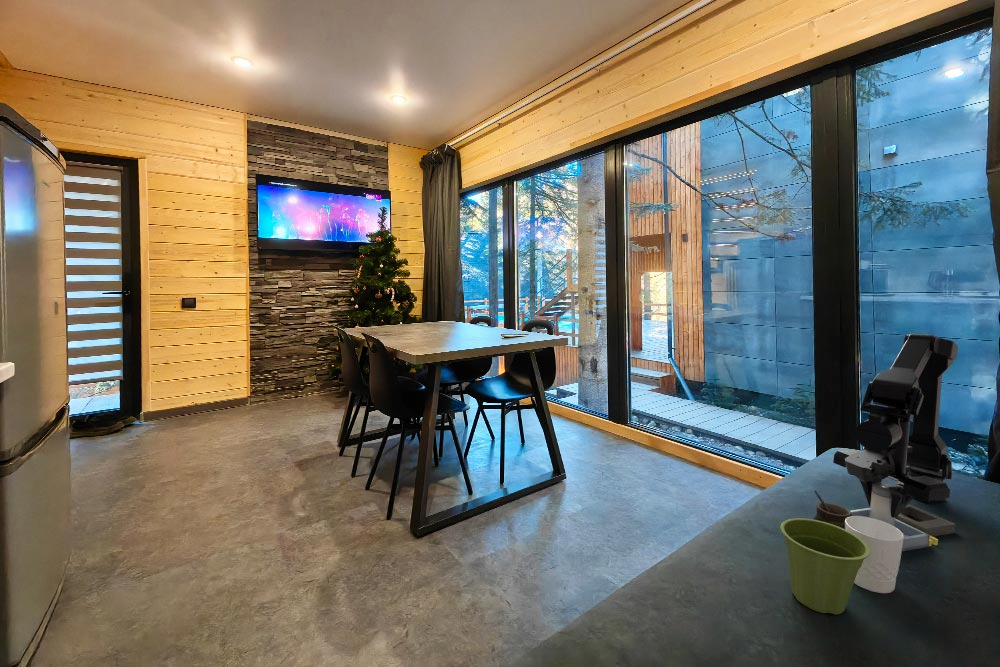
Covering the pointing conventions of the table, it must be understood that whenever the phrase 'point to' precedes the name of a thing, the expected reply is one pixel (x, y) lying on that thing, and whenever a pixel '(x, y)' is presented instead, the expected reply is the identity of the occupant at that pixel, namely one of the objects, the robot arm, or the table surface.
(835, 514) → the mate gourd
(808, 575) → the plant pot
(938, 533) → the frame
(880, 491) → the cylinder
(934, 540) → the puller tool
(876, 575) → the white cup
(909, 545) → the tray
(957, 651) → the table surface
